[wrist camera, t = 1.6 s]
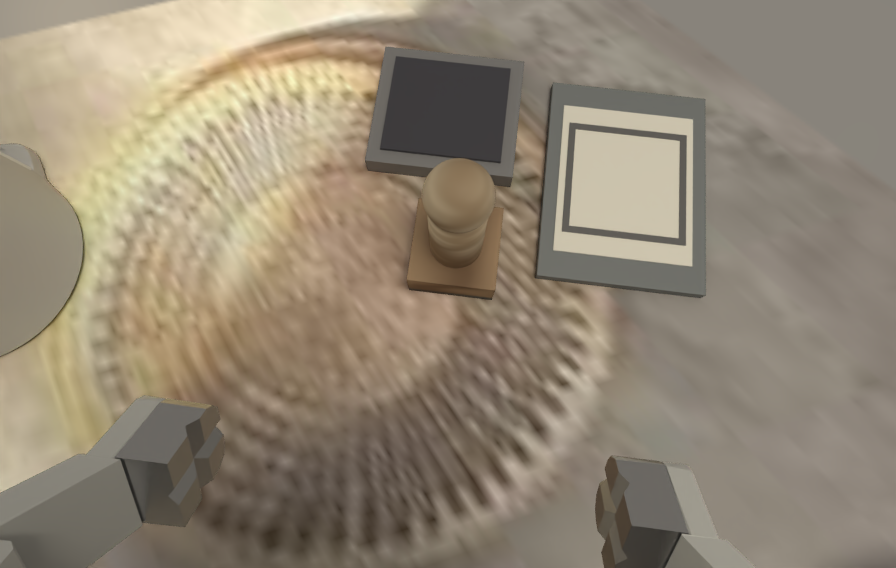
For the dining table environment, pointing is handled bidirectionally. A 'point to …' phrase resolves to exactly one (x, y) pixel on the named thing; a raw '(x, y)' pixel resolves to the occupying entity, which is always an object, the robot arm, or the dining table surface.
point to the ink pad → (445, 113)
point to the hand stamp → (456, 232)
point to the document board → (624, 191)
